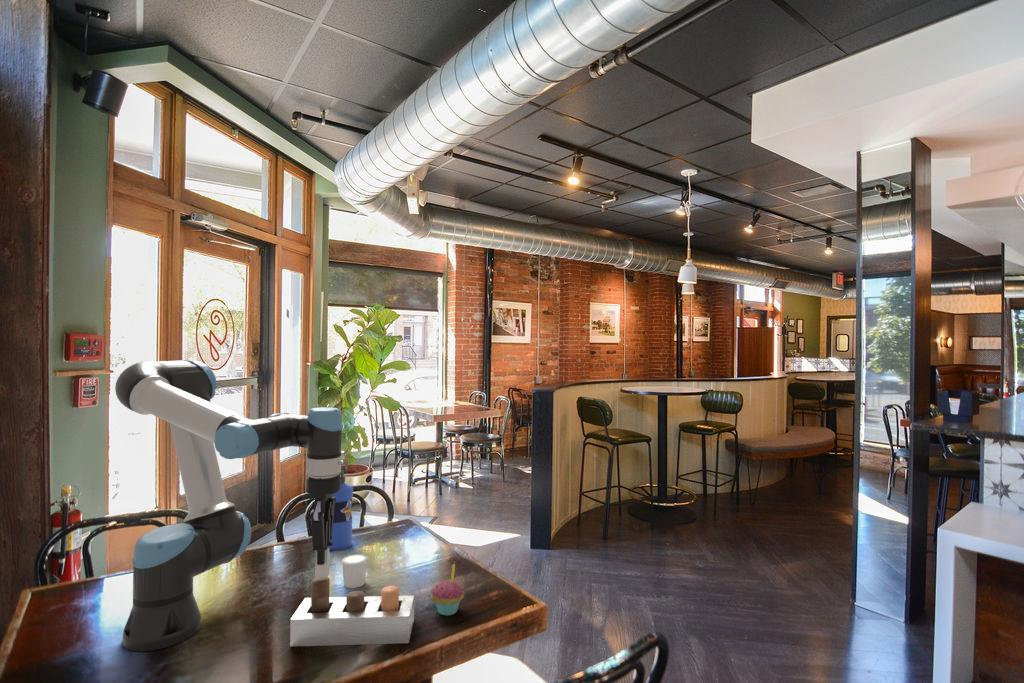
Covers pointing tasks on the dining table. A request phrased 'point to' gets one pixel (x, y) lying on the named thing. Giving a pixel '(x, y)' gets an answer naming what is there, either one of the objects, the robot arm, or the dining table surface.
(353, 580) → the white cup
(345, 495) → the water bottle
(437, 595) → the cupcake
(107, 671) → the dining table surface
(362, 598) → the plug mid
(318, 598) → the plug near
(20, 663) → the dining table surface
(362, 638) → the jig
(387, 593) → the plug terracotta
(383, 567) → the dining table surface
